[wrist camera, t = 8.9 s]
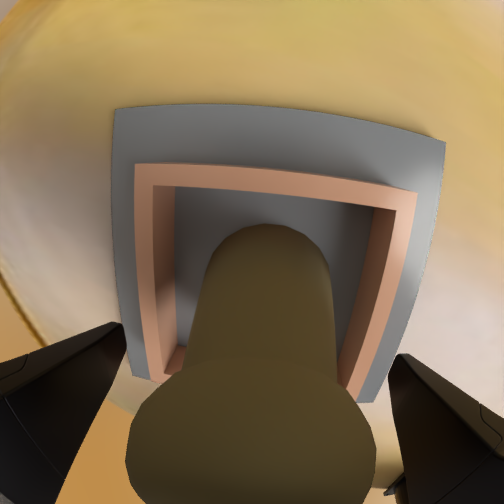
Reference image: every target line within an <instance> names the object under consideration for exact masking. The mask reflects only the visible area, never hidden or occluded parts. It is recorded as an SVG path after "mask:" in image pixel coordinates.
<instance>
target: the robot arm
mask: <svg viewBox="0 0 504 504" xmlns="http://www.w3.org/2000/svg"><path fill="white" fill-rule="evenodd" d="M126 349H127V342H126V336H125V331H124V326H123V325H122V324H120V323H116V322H109V323H107V324H104V325H101V326H99V327H96V328H94V329H91V330H88V331H86V332H83V333H81V334H78V335H76V336H73V337H70V338H68V339H65V340H62V341H60V342H57V343H55V344H52V345H49V346H47V347H44V348H41V349H39V350H36V351H33V352H31V353H29V354H25V355H23V356H20V357H17V358H14V359H11V360H8V361H5V362H2V363H0V504H55V502H56V500H57V498H58V495H59V493H60V490H61V488H62V486H63V483H64V481H65V479H66V477H67V474H68V472H69V470H70V468H71V465H72V463H73V461H74V459H75V457H76V455H77V453H78V450H79V449H80V446H81V444H82V442H83V440H84V438H85V436H86V434H87V432H88V430H89V428H90V426H91V424H92V422H93V420H94V418H95V416H96V414H97V412H98V411H99V409H100V406H101V405H102V403H103V401H104V399H105V397H106V395H107V393H108V392H109V390H110V388H111V386H112V384H113V381H114V379H115V376H116V374H117V371H118V369H119V366H120V364H121V361H122V359H123V357H124V354H125V352H126ZM388 384H389V390H390V398H391V405H392V413H393V418H394V423H395V427H396V432H397V436H398V441H399V446H400V451H401V456H402V461H403V466H404V472H405V473H404V474H403V475H402V476H401V477H400V478H399V479H398V480H397V481H396V482H394V483H393V484H392V485H391V486H390V487H389V488H388V489H387V490H386V491H385V492H384V493H383V494H384V496H388V495H393V494H395V499H396V503H397V504H504V418H502V417H500V416H499V415H497V414H496V413H494V412H493V411H491V410H490V409H488V408H487V407H485V406H484V405H482V404H481V403H480V404H479V402H478V401H476V400H475V399H474V398H472V397H471V396H469V395H468V394H466V393H465V392H463V391H462V390H461V389H459V388H458V387H456V386H455V385H453V384H452V383H450V382H449V381H448V380H446V379H445V378H443V377H442V376H440V375H439V374H437V373H436V372H434V371H433V370H432V369H430V368H429V367H427V366H426V365H424V364H423V363H421V362H420V361H419V360H417V359H416V358H414V357H413V356H411V355H410V354H398V355H397V356H396V357H395V359H394V361H393V364H392V366H391V368H390V371H389V373H388Z"/></svg>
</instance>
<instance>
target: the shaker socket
mask: <svg viewBox="0 0 504 504" xmlns="http://www.w3.org/2000/svg"><path fill="white" fill-rule="evenodd" d="M445 148H446V142H443V141H440V140H437V139H434V138H431V137H428V136H425V135H421V134H418V133H414V132H411V131H407V130H403V129H400V128H396V127H392V126H388V125H383V124H379V123H375V122H370V121H366V120H361V119H356V118H351V117H345V116H339V115H334V114H327V113H321V112H314V111H307V110H299V109H290V108H280V107H269V106H255V105H235V104H175V105H156V106H142V107H131V108H122V109H115V117H114V128H113V143H112V166H111V212H112V236H113V251H114V263H115V273H116V283H117V291H118V299H119V306H120V313H121V319H122V325H123V326H124V331H125V336H126V342H127V353H128V357H129V362H130V367H131V371H132V375H133V376H136V377H140V378H144V379H148V380H151V381H153V382H157V383H161V384H163V383H164V382H165V381H166V380H167V379H168V378H170V377H171V376H172V375H173V374H174V373H175V372H178V371H181V369H182V365H183V360H184V356H185V352H186V348H187V343H188V339H189V335H190V331H191V327H192V323H193V318H194V314H195V310H196V306H197V303H198V299H199V295H200V291H201V287H202V283H203V279H204V276H205V272H206V269H207V266H208V263H209V261H210V258H211V256H212V253H213V252H214V251H215V249H216V248H217V247H218V246H219V245H220V244H221V242H222V241H223V240H224V239H225V238H226V237H228V236H230V235H231V234H233V233H235V232H237V231H238V230H240V229H242V228H244V227H249V226H254V225H258V224H263V223H265V224H275V225H284V226H287V227H290V228H292V229H294V230H296V231H299V232H301V233H303V234H305V235H306V236H307V237H308V238H309V239H310V240H311V241H313V242H314V243H315V244H316V245H317V246H318V247H319V248H320V250H321V252H322V253H323V255H324V257H325V259H326V261H327V263H328V265H329V271H330V278H331V287H332V298H333V310H334V324H335V339H336V359H337V384H339V385H340V386H342V387H343V388H345V389H346V390H348V392H349V393H350V395H351V396H352V398H353V399H354V401H355V402H356V403H370V402H374V400H375V398H376V396H377V394H378V392H379V390H380V388H381V386H382V383H383V381H384V379H385V377H386V375H387V373H388V370H389V368H390V366H391V364H392V361H393V359H394V357H395V354H396V352H397V349H398V347H399V344H400V342H401V339H402V337H403V334H404V331H405V329H406V326H407V323H408V320H409V318H410V315H411V312H412V309H413V306H414V303H415V300H416V297H417V293H418V290H419V287H420V283H421V280H422V276H423V273H424V269H425V265H426V262H427V258H428V254H429V250H430V245H431V241H432V236H433V232H434V227H435V222H436V217H437V211H438V205H439V199H440V193H441V186H442V178H443V170H444V160H445Z"/></svg>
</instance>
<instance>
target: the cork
mask: <svg viewBox="0 0 504 504" xmlns="http://www.w3.org/2000/svg"><path fill="white" fill-rule="evenodd" d="M375 462H376V445H375V442H374V438H373V434H372V431H371V427H370V425H369V424H368V422H367V420H366V418H365V417H364V415H363V413H362V411H361V410H360V408H359V407H358V405H357V404H356V402H355V401H354V399H353V398H352V396H351V395H350V393H349V392H348V390H346V389H345V388H343V387H342V386H340V385H339V384H337V359H336V339H335V324H334V310H333V298H332V287H331V278H330V271H329V265H328V263H327V261H326V259H325V257H324V255H323V253H322V252H321V250H320V248H319V247H318V246H317V245H316V244H315V243H314V242H313V241H311V240H310V239H309V238H308V237H307V236H306V235H305V234H303V233H301V232H299V231H296V230H294V229H292V228H290V227H287V226H284V225H275V224H265V223H263V224H258V225H254V226H249V227H244V228H242V229H240V230H238V231H237V232H235V233H233V234H231V235H230V236H228V237H226V238H225V239H224V240H223V241H222V242H221V244H220V245H219V246H218V247H217V248H216V249H215V251H214V252H213V253H212V256H211V258H210V261H209V263H208V266H207V269H206V272H205V276H204V279H203V283H202V287H201V291H200V295H199V299H198V303H197V306H196V310H195V314H194V318H193V323H192V327H191V331H190V335H189V339H188V343H187V348H186V352H185V356H184V360H183V365H182V369H181V371H178V372H175V373H174V374H173V375H172V376H171V377H170V378H168V379H167V380H166V381H165V382H164V383H163V384H162V385H161V386H160V387H159V388H157V389H156V390H155V391H154V392H153V393H152V394H151V395H150V396H149V397H148V398H147V399H146V400H145V401H144V402H143V403H142V404H141V406H140V408H139V410H138V412H137V414H136V416H135V417H134V419H133V421H132V423H131V427H130V432H129V438H128V444H127V451H126V458H125V463H126V468H127V472H128V476H129V480H130V483H131V486H132V487H133V489H134V490H135V492H136V493H137V494H138V496H139V497H140V498H141V499H142V500H143V501H144V502H145V503H146V504H363V502H364V499H365V498H366V496H367V494H368V492H369V490H370V488H371V485H372V481H373V477H374V473H375Z"/></svg>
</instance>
